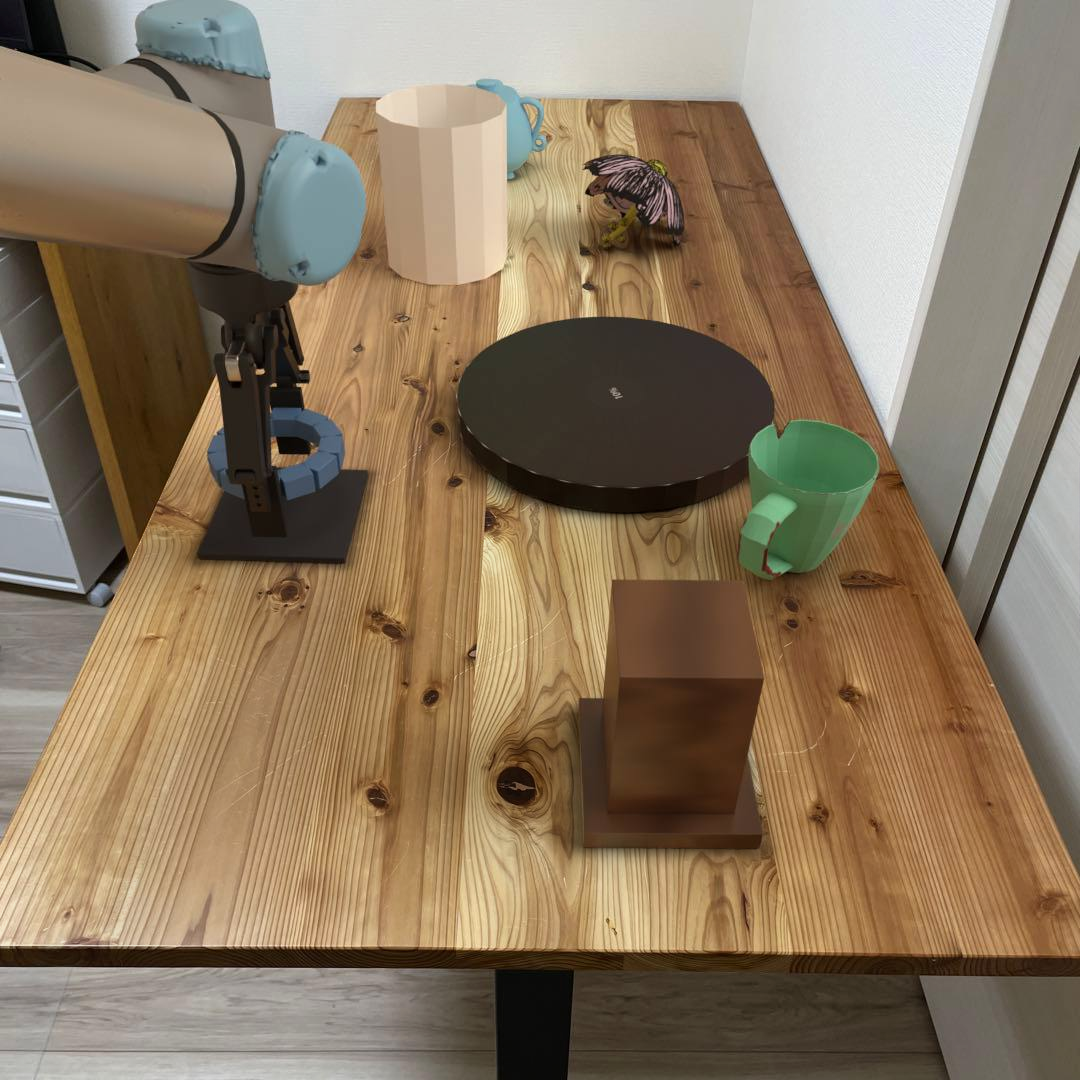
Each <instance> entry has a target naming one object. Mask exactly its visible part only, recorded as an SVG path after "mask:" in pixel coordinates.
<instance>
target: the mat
mask: <svg viewBox="0 0 1080 1080" xmlns="http://www.w3.org/2000/svg"><path fill="white" fill-rule="evenodd" d="M283 468H284V467H280V466H279V467H277V470H280V469H283ZM338 471H339V474H338V475H337V476H335V477H334V478H333V479H332V480H331V481H329V482H328V483H327V484H326V485H325V486H323V487H322V488H321V489H319V488H317V487H315V490H316V492H313V493H310V494H306V495H303V496H300V497H297V498H294V499H291V500H286V498H285V497H284V495H283V497H282V499H283V504H284V510H285V515H286V521H287V526H288V535H287V537H253V536H252V531H251V526H250V521H249V517H248V512H247V507H246V503H245V499H242V498H240V497H237V496H235V495H233V494H230V493H228V492H225V491H223V492H222V494H221V496H220V498H219V501H218V504H217V506H216V508H215V511H214V513H213V516H212V517H211V520H210V523H209V525H208V526H207V529H206V532H205V534H204V536H203V538H202V541H201V543H200V546H199V548H198V551H197V553H196V555H197V559H198V560H220V561H221V560H224V561H255V562H286V563H287V562H288V563H289V562H290V563H317V564H318V563H319V564H345V563H346V561H347V557H348V553H349V549H350V546H351V542H352V539H353V534H354V531H355V527H356V523H357V519H358V515H359V511H360V508H361V504H362V501H363V500H362V499H363V496H364V493H365V489H366V484H367V481H368V477H369V471H368V470H367V469H345V468H342V469H341V470H338Z"/></svg>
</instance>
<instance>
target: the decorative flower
mask: <svg viewBox="0 0 1080 1080" xmlns="http://www.w3.org/2000/svg"><path fill="white" fill-rule="evenodd" d="M582 165H583V166H584V167H583V169H582V171H585V170H588V171H589V173H591V176H593V177H595V179H593V180H592V181H591V182H590V183H589V184H588V186H587V187H586V189H585V190H584V195H586V196H589V197H593V198H594V197H595V196H597V195H602V194H603V195H604V196H605V197H606V199H608V200H609V202H608V204H610V205H612V208H611V209H612V210H617V211H618V212H619V214H620V215H621V219H620V220H619V222H618V224H617V223H616V222H615V221H609V222H608V223H607V229H608V230H609V231H611V233H610V234H609V233H604V234H602V236H601V241H602V243H601V246H602V248H603V249H604V250H609V249H611V247H612V244H611V241H612V240H614V239H616V238H617V239H616V241H617V243H618V244H625V243H626V241H627V237H626V236H625V235H624V234H621V233H623V232H624V231H625V230H626V229H627V228H628V227H629V226H630V225H631V223H632V222H633V221H634V220H635V218H637V220H638V221H639V222H640V224H641V225H642V226H643V228H644V229H649V228H652V227H654V225H656V224H657V223H658V222H660V221H661V219H662V218H665V217H666V227H667V235H668V236H669V235H672V244H673V248H675V247H678V246H680V245H681V241H682V237H683V234H684V233H685V232H684V231H685V213H684V208H683V204H682V200H681V197H680V195H679V192H678V190H677V188H676V186H675V185H674V183H673V182H672V181H671V179H669V178H668V168H667V165H666V164H665V163H663V162H662V161H661V160H659V159H650V160H648V161H645V160H644V159H642V158H639V157H637V156H634V155H629V154H620V153H619V154H618V153H616V154H609V155H603V156H598V157H595V158H593V159H590V160H587V161H585V163H583V164H582Z"/></svg>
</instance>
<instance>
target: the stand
mask: <svg viewBox="0 0 1080 1080" xmlns="http://www.w3.org/2000/svg"><path fill="white" fill-rule="evenodd" d="M759 651H760V650H759V648H758V641H757V636H756V633H755V629H754V624H753V619H752V614H751V611H750V605H749V601H748V596H747V591H746V586H745V582H744V580H739V579H738V580H733V579H732V580H731V579H729V580H725V579H724V580H723V579H722V580H721V579H622V578H621V579H618V578H617V579H611V585H610V599H609V611H608V625H607V638H606V651H605V652H606V653H605V664H604V665H605V667H604V678H603V679H604V680H603V691H602V692H603V693H602V697H579V698H578V714H577V717H578V736H579V737H578V739H579V741H578V742H579V762H580V763H579V767H580V768H579V769H580V794H581V795H580V796H581V797H580V798H581V819H582V820H581V821H582V823H581V824H582V847H583V848H626V849H627V848H633V849H634V848H635V849H636V848H637V849H638V848H639V849H640V848H641V849H643V848H645V849H651V848H652V849H653V848H655V849H657V848H658V849H760V847H761V842H762V839H763V835H764V834H763V827H762V823H761V819H760V813H759V808H758V807H759V806H758V802H757V796H756V790H755V786H754V781H753V775H752V769H751V764H750V758H749V750H750V746H751V741H752V738H753V732H754V728H755V723H756V718H757V713H758V710H759V705H760V700H761V695H762V690H763V687H764V682H765V675H764V671H763V670H764V669H763V666H762V661H761V656H760V652H759Z"/></svg>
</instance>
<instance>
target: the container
mask: <svg viewBox="0 0 1080 1080" xmlns="http://www.w3.org/2000/svg"><path fill="white" fill-rule="evenodd" d="M375 116H376V118H375V119H376V131H377V144H378V155H379V167H380V177H381V191H382V203H383V210H384V211H383V215H384V224H385V236H386V248H387V250H386V251H387V260H388V261H387V262H388V267H389V268H390V269H392V270H393V271H394V272H395V273H396V274H398V276H400V277H401V278H403V279H406V280H410V281H414V282H417V283H421V284H424V285H428V286H429V285H433V286H440V285H441V286H459V285H465V284H470V283H474V282H477V281H478V282H479V281H484V280H486V279H488V278H490V277H492V276H493V275H494V274H496V273H498V272H500V271H501V270H503V269H504V267H505V264H506V262H507V258H508V253H509V252H508V251H509V250H508V247H509V246H508V179H507V104H506V103H505V102H504V101H503V100H502V99H501V98H500V97H499V96H498V95H497V94H495V93H492V92H489V91H486V90H483V89H480V88H476V87H470V86H467V85H458V84H448V83H447V84H446V83H444V84H441V83H439V84H427V85H426V84H425V85H414V86H410V87H405V88H402V89H397V90H393V91H390V92H388V93H387V94H385V95H384V96H382V97H381V98H379V99H378V100H376V101H375Z"/></svg>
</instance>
